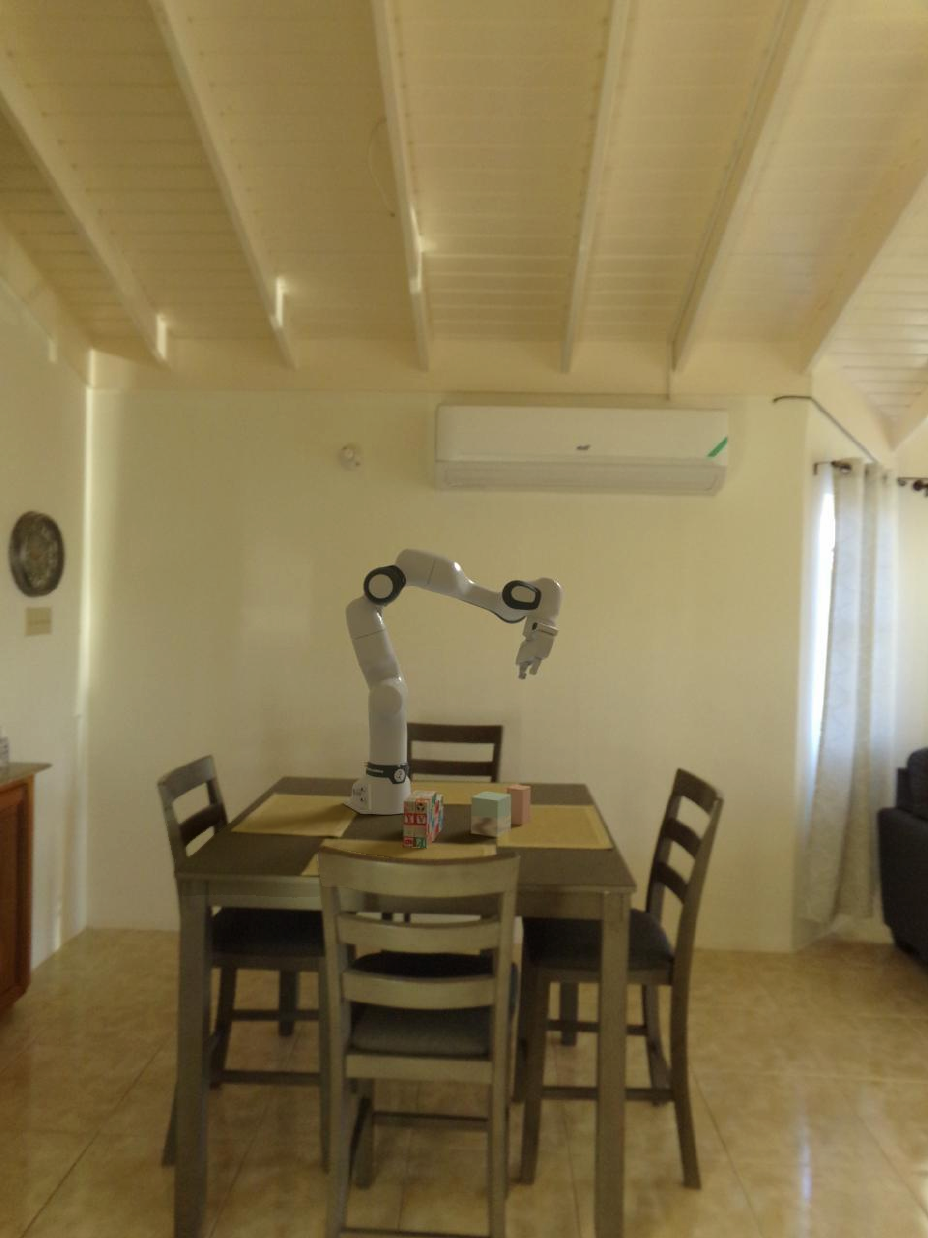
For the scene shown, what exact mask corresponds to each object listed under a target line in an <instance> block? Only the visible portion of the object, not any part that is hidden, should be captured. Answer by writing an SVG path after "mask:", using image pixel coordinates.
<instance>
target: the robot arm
mask: <svg viewBox="0 0 928 1238" xmlns="http://www.w3.org/2000/svg"><path fill="white" fill-rule="evenodd" d="M406 587H415V588H419V589H423V590H426V591H430V592H433V593H436V594H440V595H443V596H448V597H450V598H453V599H457V600H459V601H462V602H465V603H468V604H470V605H473V606H475V607H478V608H481V609H484V610H486V611H488V612H491V613H492V614H494V615H495V616H496V617H497V618H498V619H500V620H501V621H502V622H503V623H504V622H505V623H506V624H510V625H511V624H513V625H514V624H518V623H520V622H523V621H524V620H525V623H524V627H523V631H522V636H523V637H525V639H524V640H523V641H522V642H521V643H520V646H519V648H518V651H517V654H516V657H515V666H518V668H519V673H518V679H519V680H521V681H524V680H526V678H527V670H528V667H530V668H529V675H532V676H535V675H537V673H538V670H539V668H540V666H541V665H542V661H544V660H546V659H548V657H550V653H551V651H552V648H553V646H554V642H555V638H556V637H557V636H558V633H559V629H558V628H556V625H557V617H558V616H559V614H560V611H561V606H562V600H563V588H562V586H561V585H560V584H559V583H558V581H556V580H553V578H549V577H539V578H538V579H533V580H520V579H514V580H511V581H509V582H507V583H506V584H505V585H504V587H503V588H502V590H501V591H498V590H494V589H492V588H489V587H487V586H483V585H482V584H481V585H480V584H479V583H478V584H477V583H475V582H474V581H472V580H471V579H470V578H468V577H467V575H466V573H464V571H463V569H462V567H461V565H460V564H459V563H458V562H457V561H455V560H453V559H452V558H449V557H447V556H446V555H445V556H444V555H442V554H438V553H436V552H432V551H427V550H422V549H418V548H417V549H416V548H404V549H403V550H401V552H399V554H398V555H397V557H396V559H395V562H394V564H391V565H386V566H381V567H380V566H378V567H376V568H374V569H372V570H371V571H369V572H368V573H367V575H366V576H365V578H364V580H363V586H362V589H363V594H362V595H361V596H360V597H358V598H354V599H353V600H351V601H350V602H349V603H348V604H347V605H346V607H345V619H346V624H347V625H346V626H347V629H348V634H349V638H350V640H351V644H352V646H353V650H354V653H355V656H356V659H357V660H356V661H357V663H358V665H359V668H360V670H361V672H362V675H363V677H364V680H365V682H366V684H367V686H368V690H369V693H368V702H367V704H368V729H369V760H368V761H367V762H364V767H366V769H365V772H364V773H365V774H364V775H362V777H360V778H359V779H357V780H356V781H355V782H354V783H353V784H352V787H351V797H349V798H346V799H345V800H343V805H345V806H346V807H349V808H350V809H352V810H354V811H356V812H357V813H359V814H361V815H371V814H372V815H398V814H403V813H404V800H405V799H406V798H407V797H408V796H410V795H411V793H412V792H411V779H410V778H409V777H408V774H409V762H408V759H407V757H408V728H407V727H408V725H407V723H408V722H407V716H408V715H407V706H408V705H407V704H408V700H409V695H410V694H409V688H408V685H407V683H406V680H405V677H404V675H403V671H402V668H401V666H400V664H399V663H400V662H399V660H398V659H397V656H396V653H395V649H394V647H393V644H392V639H391V637H390V634H389V633H390V632H389V630H388V629H387V628H388V627H387V624H386V621H385V618H384V609H385V607H388V605H390V604H392V603H394V602H396V601H397V600H398V598H399V597H400V596H401V593H402V590H403V589H405V588H406Z"/></svg>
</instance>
